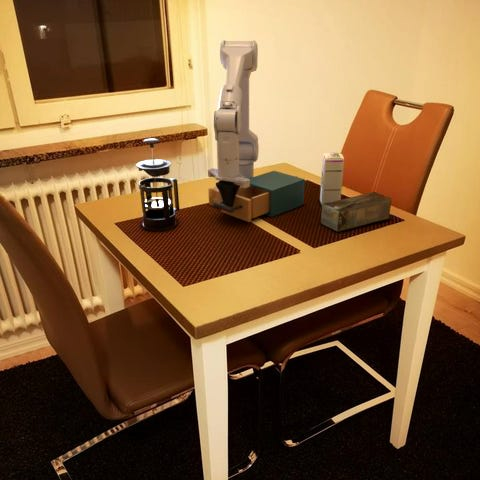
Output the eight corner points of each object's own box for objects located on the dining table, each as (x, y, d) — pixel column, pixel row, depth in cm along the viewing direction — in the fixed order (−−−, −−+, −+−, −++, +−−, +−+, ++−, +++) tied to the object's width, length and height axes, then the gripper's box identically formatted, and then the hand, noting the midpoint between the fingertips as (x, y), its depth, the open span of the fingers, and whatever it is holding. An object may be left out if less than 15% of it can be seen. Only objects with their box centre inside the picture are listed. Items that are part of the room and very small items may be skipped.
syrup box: (340, 206, 149) (345, 157, 141) (320, 206, 149) (325, 157, 141) (337, 199, 154) (342, 152, 146) (318, 199, 154) (322, 152, 146)
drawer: (236, 226, 134) (235, 204, 131) (208, 216, 141) (208, 194, 137) (280, 209, 145) (281, 189, 141) (253, 200, 151) (253, 180, 148)
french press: (151, 234, 132) (142, 146, 119) (134, 224, 138) (123, 139, 125) (188, 223, 138) (182, 138, 125) (169, 214, 144) (162, 132, 131)
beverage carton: (318, 223, 138) (321, 200, 134) (371, 211, 146) (374, 189, 142) (336, 233, 132) (339, 209, 129) (390, 220, 140) (394, 197, 136)
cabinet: (271, 217, 142) (272, 190, 138) (241, 206, 150) (241, 180, 145) (303, 204, 150) (304, 179, 146) (273, 195, 158) (274, 170, 154)
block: (209, 204, 151) (208, 188, 148) (219, 201, 153) (219, 184, 150) (218, 208, 148) (218, 191, 145) (229, 204, 151) (229, 188, 148)
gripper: (198, 155, 132) (200, 204, 139) (236, 166, 123) (236, 218, 130) (217, 150, 136) (219, 198, 143) (255, 160, 127) (255, 211, 134)
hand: (228, 207), depth 137 cm, fingers closed, pressing on drawer
